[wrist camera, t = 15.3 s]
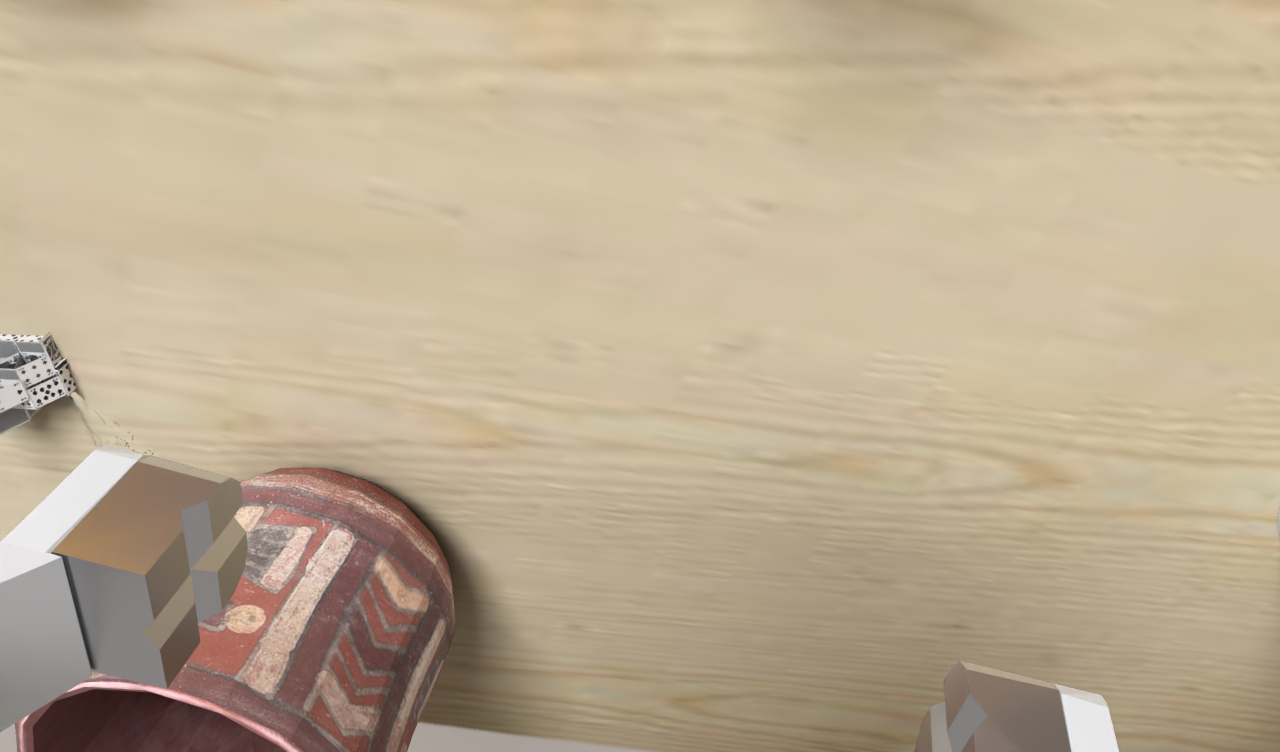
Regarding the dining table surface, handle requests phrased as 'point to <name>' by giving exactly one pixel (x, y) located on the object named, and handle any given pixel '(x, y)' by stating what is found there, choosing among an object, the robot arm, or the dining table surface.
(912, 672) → the dining table surface
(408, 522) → the pottery
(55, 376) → the house of cards
